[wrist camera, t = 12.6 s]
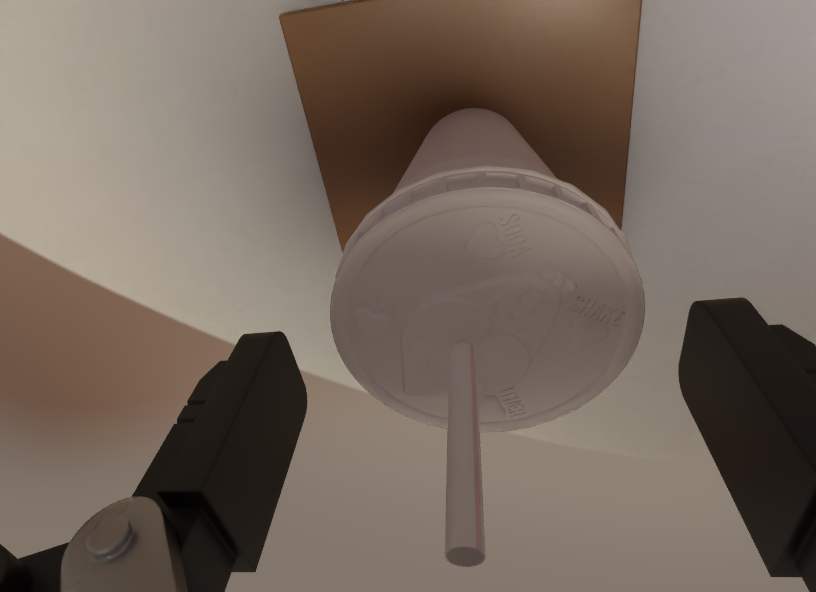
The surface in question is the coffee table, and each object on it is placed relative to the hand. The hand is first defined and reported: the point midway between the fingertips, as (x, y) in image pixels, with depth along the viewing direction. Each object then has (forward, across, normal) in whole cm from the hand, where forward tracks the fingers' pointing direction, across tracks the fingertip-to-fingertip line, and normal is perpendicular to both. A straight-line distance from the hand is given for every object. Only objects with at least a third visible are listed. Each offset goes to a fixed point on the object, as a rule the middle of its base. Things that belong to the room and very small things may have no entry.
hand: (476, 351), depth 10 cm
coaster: (+11, 0, 0) cm, 11 cm away
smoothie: (+10, 0, 0) cm, 10 cm away
